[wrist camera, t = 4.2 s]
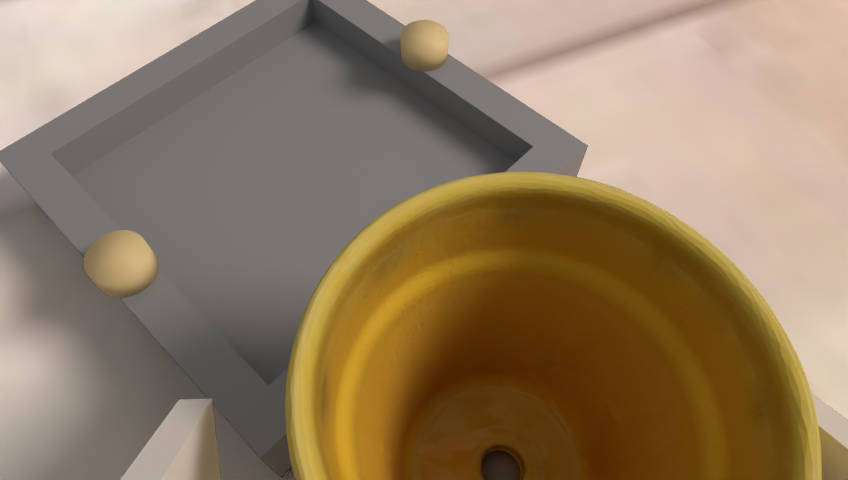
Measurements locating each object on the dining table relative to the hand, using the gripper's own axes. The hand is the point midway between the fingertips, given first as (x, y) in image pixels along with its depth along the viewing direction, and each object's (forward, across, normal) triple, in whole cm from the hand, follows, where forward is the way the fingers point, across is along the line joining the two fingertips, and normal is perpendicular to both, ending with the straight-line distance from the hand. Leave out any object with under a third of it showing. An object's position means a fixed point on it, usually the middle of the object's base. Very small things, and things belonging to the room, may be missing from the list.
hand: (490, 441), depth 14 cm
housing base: (+13, -6, +4) cm, 15 cm away
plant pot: (+5, +1, -4) cm, 7 cm away
